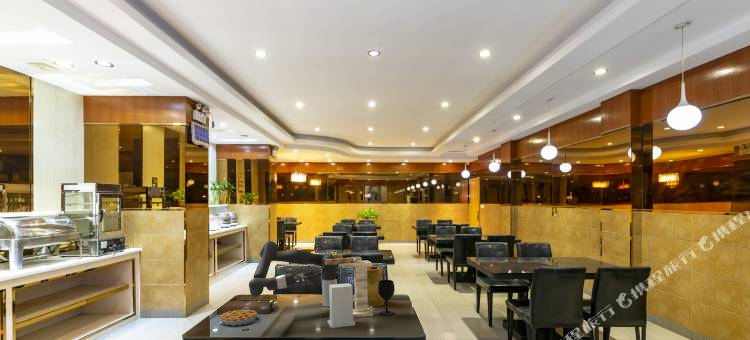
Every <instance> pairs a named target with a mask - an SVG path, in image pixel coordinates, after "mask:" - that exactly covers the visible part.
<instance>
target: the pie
mask: <svg viewBox="0 0 750 340" xmlns="http://www.w3.org/2000/svg"><path fill="white" fill-rule="evenodd" d="M258 315H259V314H258V311H255V310H254V309H244V308H241V309H234V310H228V311H227V312H223V313H222V314H220V316H219V320H220V321H221V324H222V325H224V324H225V326H228V325H232V326H231V327H236V326H235V325H238V326H243V324H244V325H247V324H251V323H253V322H254V321H256V318H257V317H258Z"/></svg>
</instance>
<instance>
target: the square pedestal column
mask: <svg viewBox="0 0 750 340" xmlns="http://www.w3.org/2000/svg"><path fill="white" fill-rule="evenodd" d="M339 265H340V267H342V269H349V268H353V271H354V272H353V274H354V275H353V276H354V308H353V319H355V318H365V317H373V316H374V311H373V310H371V308H370V307H369V305H368V289H367V267H369V266H373V264H372V262H371V261H369V260H368V259H367V260H362V263H347V264H339Z"/></svg>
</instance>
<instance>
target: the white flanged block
mask: <svg viewBox="0 0 750 340" xmlns="http://www.w3.org/2000/svg"><path fill="white" fill-rule="evenodd" d="M353 291H354V290H353V285H352V284H351V283H350V282H349V283H348V282H346V283H336V284H334V285H329V300H330V306H329V319H327V324H328V325H329V328H330V329H333V328H334V329H335V328H336V329H337V328H343V327H344V328H345V327H353V326H356V322H355V321H354V318H353V309H354V307H353V305H354V303H353V301H354V300H353V298H354V297H353V296H354V295H353Z"/></svg>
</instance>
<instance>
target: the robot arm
mask: <svg viewBox="0 0 750 340" xmlns="http://www.w3.org/2000/svg"><path fill="white" fill-rule="evenodd" d="M278 250H279V246H278V244H277V242H275V241H272V240H269V241H266V242H265V243H264V244H263V246H262V248H261V250H260V252H259V256H260V257H261V259H260V261H259V262H258V265H257V267H256V269H255V272H254V274H253V278H252V279H251V280H250V281H248V288H249V293H250V295H251V296H252V297H254V298H257V297H260V296H261V295H262V293H263V292H264V288H266V289H267V291H275V290H280V289H287V288H291V287H294V286H295V284H301V283H306V282H308V281H310V280H314V279H315V277H314V274H313V273H312V271H309V272H299V273H294V274H293V273H291V272H290V273H286V274H282V275H278V276H277V275H276V276H273V277H268V278H267V275H268V272H269V270H270V266H271V263H272V262H283V263H291V264H295V265H303V266H304V265H305V266H307V265H309V266H310V265H312V266H318V267H322V268H323V269H324V270H323V271H324V272H323V274H322V275H321V277H322V278H321V279H322V282H321V283H322V289H321V290H322V306H323V307H330V300H329V285H334V284H337V273H338V264H333V265H326V264H325V259H337V258H336V257H335V256H333V255H331V254H322V253H320V254H318V253H315V252H314V253H313V252H312V251H307V250H302V249H290V250H287V251H286V250H285V251H278Z"/></svg>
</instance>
